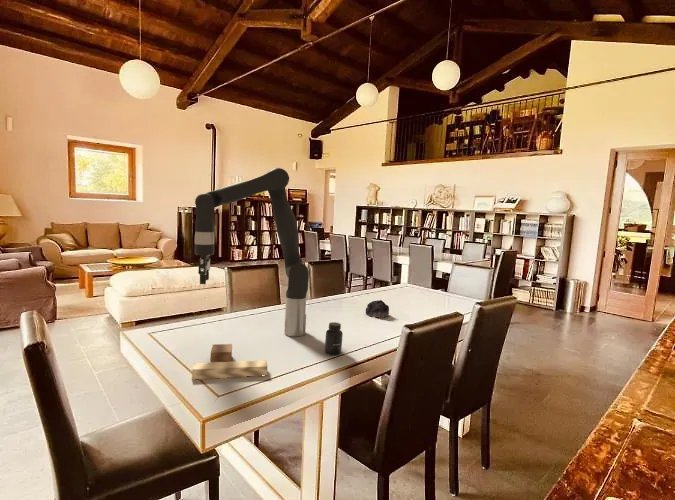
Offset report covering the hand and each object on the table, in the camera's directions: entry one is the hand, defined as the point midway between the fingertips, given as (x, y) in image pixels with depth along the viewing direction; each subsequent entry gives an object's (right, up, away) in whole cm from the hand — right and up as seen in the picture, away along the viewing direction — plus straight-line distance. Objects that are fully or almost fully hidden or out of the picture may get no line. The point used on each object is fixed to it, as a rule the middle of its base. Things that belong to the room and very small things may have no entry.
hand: (204, 282), depth 151 cm
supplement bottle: (+53, -29, -2) cm, 60 cm away
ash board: (+19, -29, -27) cm, 44 cm away
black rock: (+77, -24, +57) cm, 99 cm away
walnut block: (+12, -28, -16) cm, 34 cm away
